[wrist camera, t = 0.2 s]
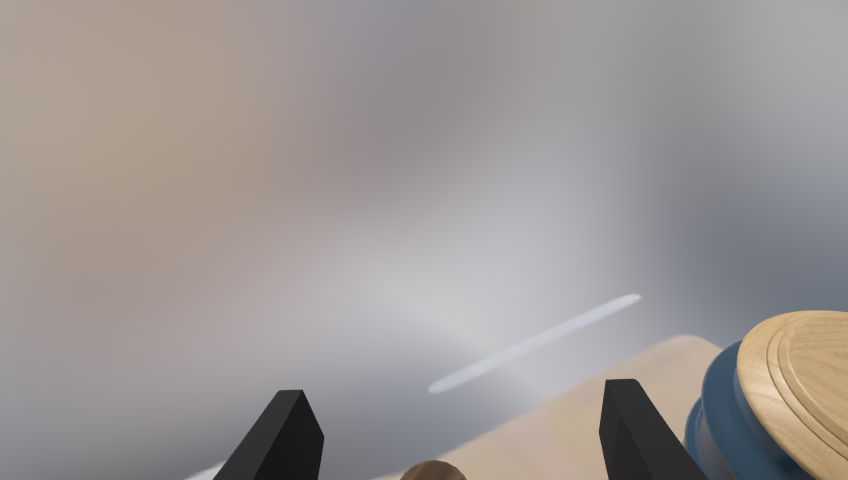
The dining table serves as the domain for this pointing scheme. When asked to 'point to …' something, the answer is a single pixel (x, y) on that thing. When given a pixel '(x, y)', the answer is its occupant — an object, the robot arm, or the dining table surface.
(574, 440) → the dining table surface
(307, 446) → the robot arm
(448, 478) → the perfume bottle
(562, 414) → the dining table surface
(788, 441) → the canister
